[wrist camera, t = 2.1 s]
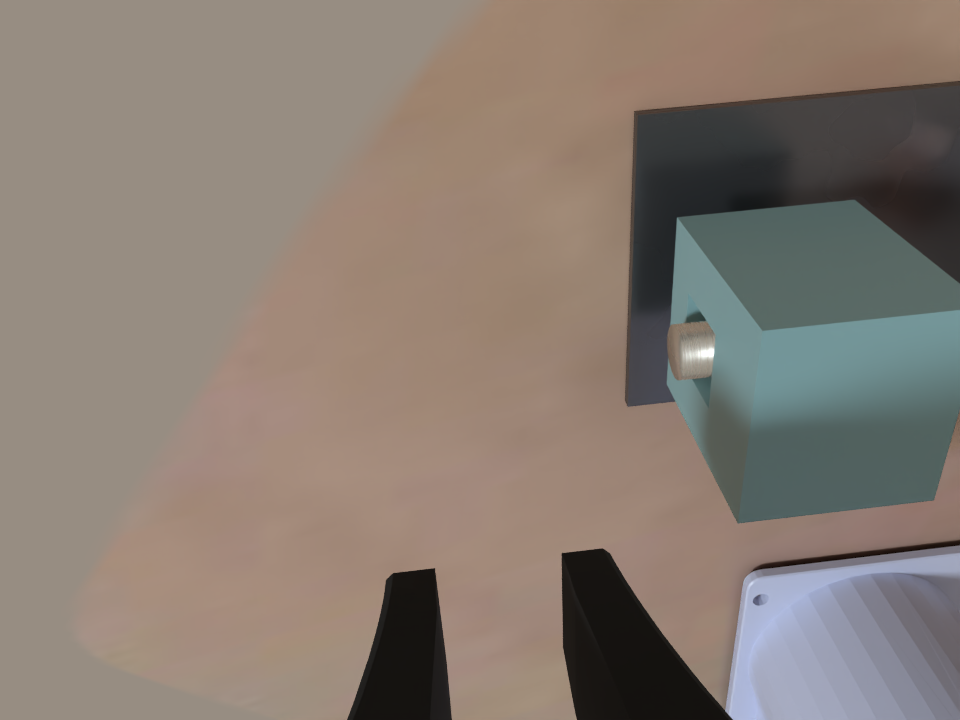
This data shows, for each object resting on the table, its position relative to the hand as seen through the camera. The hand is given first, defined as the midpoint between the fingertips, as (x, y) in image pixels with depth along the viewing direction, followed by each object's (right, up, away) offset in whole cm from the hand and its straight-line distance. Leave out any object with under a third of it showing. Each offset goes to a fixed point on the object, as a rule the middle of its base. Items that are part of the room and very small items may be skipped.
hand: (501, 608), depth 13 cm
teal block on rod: (+6, +5, +7) cm, 11 cm away
